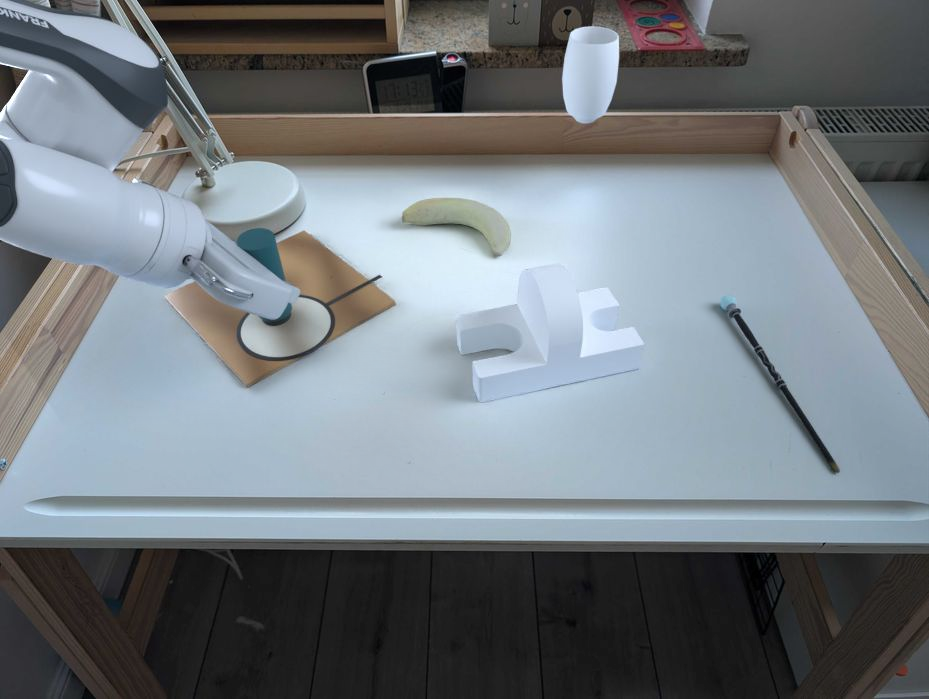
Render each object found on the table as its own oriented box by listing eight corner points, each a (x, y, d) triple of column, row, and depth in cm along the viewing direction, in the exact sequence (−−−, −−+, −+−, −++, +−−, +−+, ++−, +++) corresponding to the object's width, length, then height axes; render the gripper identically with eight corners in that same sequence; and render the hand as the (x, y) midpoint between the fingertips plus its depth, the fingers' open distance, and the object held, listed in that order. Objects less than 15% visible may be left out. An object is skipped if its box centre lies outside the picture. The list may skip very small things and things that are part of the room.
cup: (562, 163, 109) (575, 21, 94) (609, 172, 106) (629, 29, 92) (547, 187, 104) (557, 41, 89) (595, 197, 102) (614, 50, 87)
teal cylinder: (270, 332, 82) (248, 254, 74) (252, 315, 84) (229, 238, 76) (300, 316, 83) (281, 239, 76) (282, 300, 86) (262, 223, 78)
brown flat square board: (250, 391, 76) (248, 386, 76) (165, 299, 87) (163, 294, 87) (409, 301, 86) (408, 296, 86) (315, 229, 97) (314, 224, 97)
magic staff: (831, 480, 68) (827, 473, 67) (720, 305, 85) (715, 297, 84) (849, 471, 67) (845, 464, 66) (734, 297, 85) (729, 289, 83)
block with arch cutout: (603, 311, 84) (616, 233, 77) (639, 369, 77) (656, 289, 70) (455, 340, 81) (452, 262, 73) (479, 403, 74) (478, 324, 67)
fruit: (427, 203, 101) (426, 182, 99) (524, 230, 96) (525, 210, 94) (400, 229, 97) (398, 208, 95) (500, 260, 92) (500, 239, 89)
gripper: (233, 257, 62) (339, 292, 74) (128, 171, 73) (235, 214, 85) (201, 319, 63) (311, 345, 75) (102, 225, 74) (212, 260, 86)
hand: (270, 275), depth 80 cm, fingers open, 8 cm apart
